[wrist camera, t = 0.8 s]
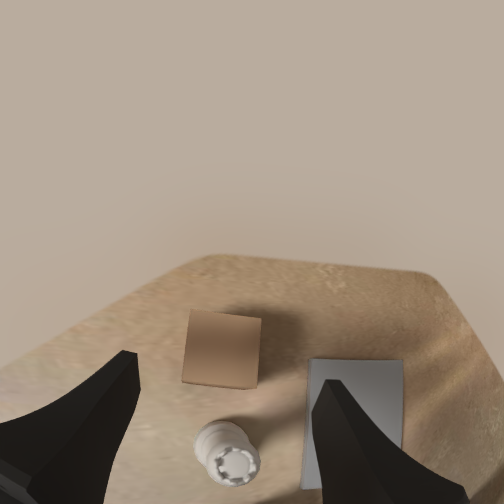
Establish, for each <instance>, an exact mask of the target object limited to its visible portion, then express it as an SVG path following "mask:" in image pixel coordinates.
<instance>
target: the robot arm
mask: <svg viewBox="0 0 504 504" xmlns="http://www.w3.org/2000/svg"><path fill="white" fill-rule="evenodd" d="M140 391H141V388H140V378H139V368H138V357H137V353H133V352H129V351H125V350H122V351H120V352H119V353H118V354H117V355H116V356H114V357H113V358H112V359H111V360H110V361H109V362H107V363H106V364H105V365H104V366H103V367H102V368H100V369H99V370H98V371H97V372H95V373H94V374H93V375H92V376H90V377H89V378H88V379H87V380H85V381H84V382H83V383H81V384H80V385H79V386H77V387H76V388H74V389H73V390H71V391H70V392H69V393H67V394H66V395H64V396H62V397H61V398H59V399H57V400H56V401H54V402H52V403H50V404H49V405H47V406H45V407H43V408H41V409H38V410H36V411H34V412H32V413H29V414H27V415H25V416H22V417H19V418H16V419H13V420H10V421H7V422H3V423H0V504H103V502H104V497H105V493H106V488H107V484H108V480H109V476H110V472H111V468H112V465H113V461H114V459H115V456H116V453H117V451H118V448H119V446H120V444H121V441H122V439H123V437H124V434H125V432H126V430H127V427H128V425H129V423H130V421H131V418H132V416H133V414H134V411H135V408H136V405H137V401H138V398H139V394H140ZM311 419H312V435H313V441H314V446H315V451H316V456H317V461H318V467H319V472H320V477H321V484H322V496H323V504H470V501H469V499H468V497H467V494H466V492H465V489H464V487H463V486H461V485H459V484H457V483H454V482H452V481H450V480H448V479H445V478H443V477H441V476H439V475H438V474H436V473H434V472H432V471H431V470H429V469H427V468H426V467H424V466H423V465H421V464H420V463H418V462H417V461H415V460H414V459H413V458H411V457H410V456H409V455H407V454H406V453H405V452H404V451H402V450H401V449H400V448H399V447H398V446H397V445H396V444H395V443H393V442H392V441H391V440H390V439H389V438H388V437H387V436H386V435H385V434H384V433H383V432H382V431H381V430H380V429H379V428H378V426H377V425H376V424H375V423H374V422H373V421H372V420H371V419H370V417H369V416H368V415H367V414H366V412H365V411H364V410H363V409H362V408H361V406H360V405H359V404H358V402H357V401H356V400H355V399H354V397H353V396H352V395H351V393H350V392H349V391H348V389H347V388H346V387H345V385H344V384H343V383H342V381H341V380H337V379H325V381H324V384H323V386H322V389H321V391H320V393H319V396H318V398H317V400H316V403H315V405H314V407H313V410H312V412H311Z"/></svg>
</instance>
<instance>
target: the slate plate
mask: <svg viewBox="0 0 504 504" xmlns="http://www.w3.org/2000/svg"><path fill="white" fill-rule="evenodd" d="M325 379H337V380H341V381H342V383H343V384H344V385H345V387H346V388H347V389H348V391H349V392H350V393H351V395H352V396H353V397H354V399H355V400H356V401H357V402H358V404H359V405H360V406H361V408H362V409H363V410H364V411H365V412H366V414H367V415H368V416H369V417H370V419H371V420H372V421H373V422H374V423H375V424H376V425H377V426H378V428H379V429H380V430H381V431H382V432H383V433H384V434H385V435H386V436H387V437H388V438H389V439H390V440H391V441H392V442H393V443H395V444H396V445H397V446H398V447H399V448H400V449H401V440H402V421H403V360H336V359H309V360H308V382H307V403H306V420H305V435H304V448H303V460H302V471H301V482H300V488H301V489H303V490H306V489H317V488H322V484H321V477H320V472H319V467H318V461H317V456H316V451H315V446H314V441H313V435H312V419H311V412H312V410H313V407H314V405H315V403H316V400H317V398H318V396H319V393H320V391H321V389H322V386H323V384H324V381H325Z"/></svg>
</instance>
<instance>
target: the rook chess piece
mask: <svg viewBox="0 0 504 504" xmlns="http://www.w3.org/2000/svg"><path fill="white" fill-rule="evenodd" d="M193 449H194V452H195V455H196V457H197V459H198V460H199V461H200V462H201V464H202V465H203V466H204V467H206V469H207V471H208V474H209V475H210V477H211V478H212V479H213V480H214V481H215V482H217V483H219V484H222V485H224V486H230V487H238V486H241V485H245V484H247V483H248V482H250V481H251V480H252V479H254V478H255V477H256V475H257V473H258V472H259V470H260V462H261V460H260V457H259V454H258V451H257V450H256V449H255V448H254V447H253V446H252V445H251V444H250V442H249V439H248V436H247V435H246V433H245V432H244V431H243V430H242V429H241V428H240V427H239V426H237V425H235V424H233V423H231V422H227V421H215V422H211V423H208V424H206V425H205V426H204V427H202V428H201V429H199V431H198V433H197V434H196V436H195V438H194V445H193Z"/></svg>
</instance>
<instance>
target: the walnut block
mask: <svg viewBox="0 0 504 504" xmlns="http://www.w3.org/2000/svg"><path fill="white" fill-rule="evenodd" d="M261 319H262V318H255V317H246V316H239V315H231V314H223V313H216V312H209V311H202V310H196V309H190V316H189V324H188V331H187V339H186V346H185V355H184V363H183V371H182V382H183V383H188V384H196V385H203V386H212V387H221V388H231V389H242V390H246V389H256V388H257V378H258V364H259V349H260V334H261Z"/></svg>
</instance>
